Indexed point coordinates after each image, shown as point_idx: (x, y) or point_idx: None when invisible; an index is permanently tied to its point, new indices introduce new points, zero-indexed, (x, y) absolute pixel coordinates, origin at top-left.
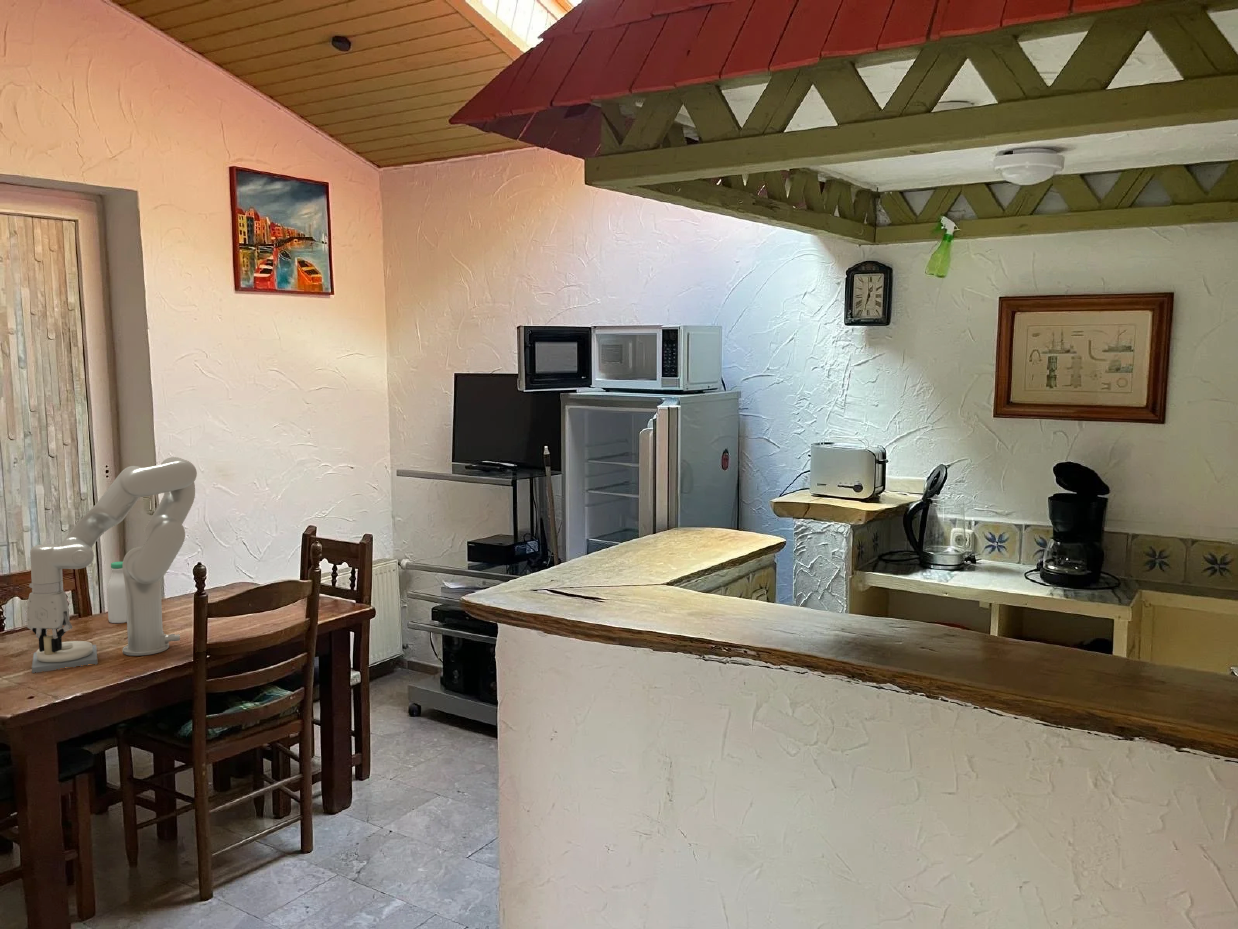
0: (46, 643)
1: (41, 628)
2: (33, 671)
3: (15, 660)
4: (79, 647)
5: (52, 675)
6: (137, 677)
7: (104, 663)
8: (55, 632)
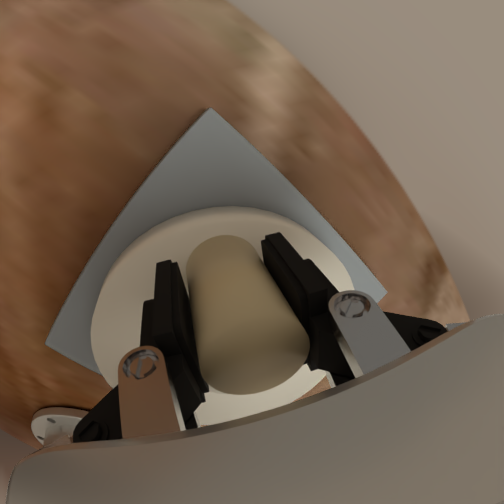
0: (230, 284)
1: (320, 394)
2: (202, 114)
3: (413, 232)
4: None
5: (65, 131)
6: None
7: (43, 342)
8: (133, 410)
